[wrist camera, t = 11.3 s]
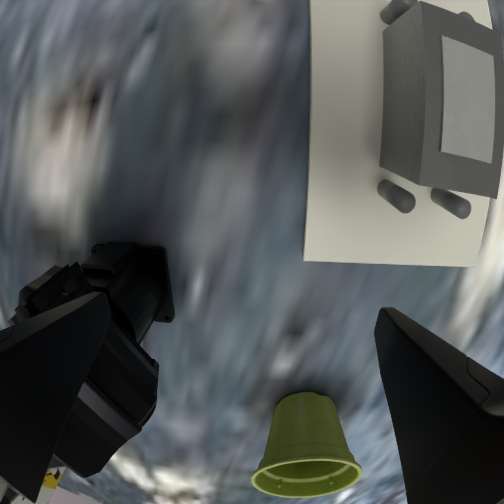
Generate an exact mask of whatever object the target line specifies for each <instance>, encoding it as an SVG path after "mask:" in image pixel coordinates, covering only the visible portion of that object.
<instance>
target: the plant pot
mask: <svg viewBox="0 0 504 504" xmlns="http://www.w3.org/2000/svg"><path fill="white" fill-rule="evenodd" d="M361 476H362V468H361V466H360V465H359V464H358V463H356V462H355V459H354V456H353V455H352V453H351V452H350V451H349V448H348V445H347V442H346V439H345V436H344V433H343V430H342V427H341V424H340V421H339V417H338V414H337V411H336V408H335V404H334V402H333V401H332V399H331V398H329V397H328V396H321V395H318V394H316V393H314V392H301V393H295V394H292V395H289V396H287V397H285V398H283V399H282V400H281V401H280V403H279V404H278V405H277V406H276V407H275V410H274V415H273V419H272V424H271V428H270V432H269V436H268V441H267V445H266V449H265V453H264V457H263V459H262V460H261V461H260V463H259V466H258V469H257V470H256V471H255V472H254V473H253V474H252V477H251V482H252V484H253V486H254V487H256V488H257V489H258V490H260V491H263V492H265V493H267V494H270V495H275V496H280V497H289V498H306V497H316V496H322V495H327V494H332V493H335V492H338V491H341V490H343V489H345V488H347V487H349V486H351V485H353V484H354V483H356V482H357V481H358V480H359V479H360V478H361Z"/></svg>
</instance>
